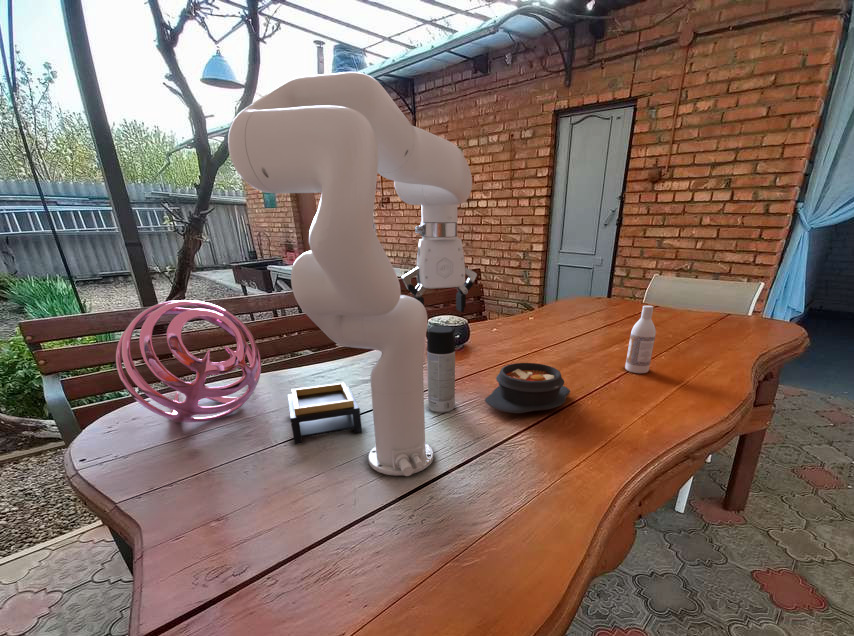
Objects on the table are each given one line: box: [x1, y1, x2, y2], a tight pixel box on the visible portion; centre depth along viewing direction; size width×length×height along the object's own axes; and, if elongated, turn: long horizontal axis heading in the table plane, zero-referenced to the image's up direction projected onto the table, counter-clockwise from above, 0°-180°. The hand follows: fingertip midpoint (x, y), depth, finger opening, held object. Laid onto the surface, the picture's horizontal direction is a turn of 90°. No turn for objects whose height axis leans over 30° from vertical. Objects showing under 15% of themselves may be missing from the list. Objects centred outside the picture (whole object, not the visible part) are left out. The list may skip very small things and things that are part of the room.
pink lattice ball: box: [115, 299, 262, 423], centre depth 98 cm, size 28×28×27 cm
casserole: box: [484, 362, 571, 414], centre depth 108 cm, size 25×19×8 cm
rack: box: [286, 382, 363, 445], centre depth 95 cm, size 14×14×8 cm
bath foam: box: [624, 304, 657, 374], centre depth 129 cm, size 7×7×20 cm
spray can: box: [426, 325, 456, 414], centre depth 102 cm, size 7×7×20 cm
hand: (440, 312), depth 97 cm, fingers open, 9 cm apart
